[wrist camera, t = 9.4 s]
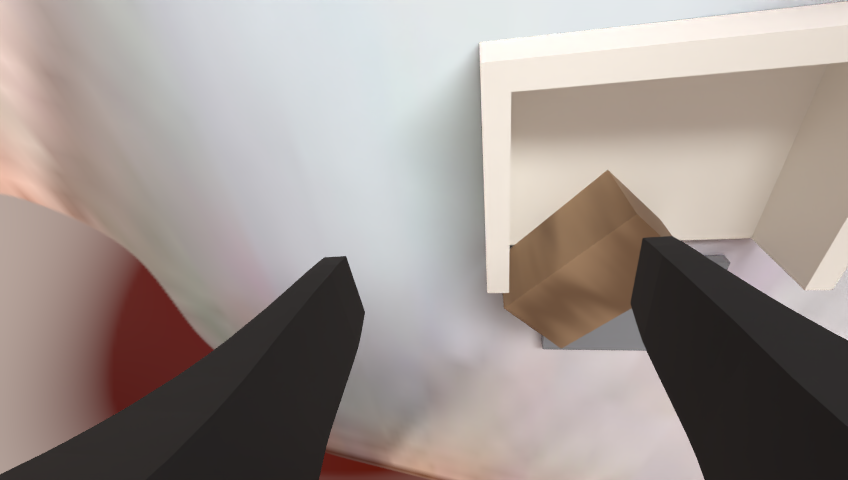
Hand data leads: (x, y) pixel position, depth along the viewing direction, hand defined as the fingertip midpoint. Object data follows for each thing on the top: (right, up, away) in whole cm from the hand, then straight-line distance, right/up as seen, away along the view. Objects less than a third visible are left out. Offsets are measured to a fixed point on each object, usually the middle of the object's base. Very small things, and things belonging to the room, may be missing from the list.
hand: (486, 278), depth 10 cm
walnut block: (+8, +2, +7) cm, 11 cm away
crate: (+8, +5, +8) cm, 13 cm away
